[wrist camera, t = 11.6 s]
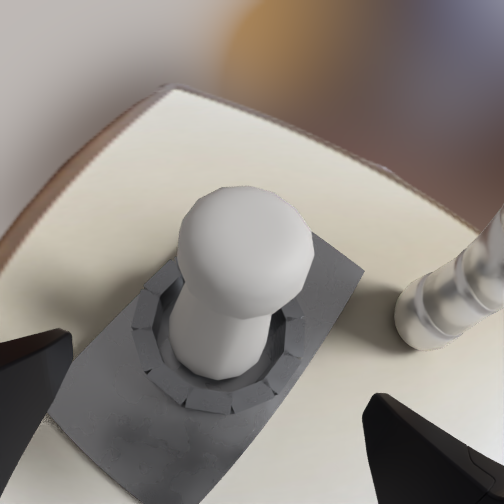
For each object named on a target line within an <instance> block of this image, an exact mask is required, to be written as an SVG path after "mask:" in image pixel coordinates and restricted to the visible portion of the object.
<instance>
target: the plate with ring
mask: <svg viewBox="0 0 504 504" xmlns="http://www.w3.org/2000/svg"><path fill="white" fill-rule="evenodd" d="M311 233H312V240H313V247H314V258H313V261H312V263H311V266H310V269H309V272H308V274H307V277H306V280H305V282H304V285H303V288H302V290H301V291H300V292H299V293H298V294H297V295H296V296H295V297H294V298H293V299H292V300H290V301H289V302H288V303H287V304H285V305H284V306H283V307H281V308H280V309H279V310H277V311H276V312H275V313H274V314H272V315H271V321H270V326H269V332H268V337H267V342H266V345H265V347H264V349H263V352H262V354H261V356H260V358H259V360H258V362H257V363H256V364H255V365H253V366H252V367H251V368H250V369H248V370H247V371H246V372H244V373H243V374H242V375H240V376H236V377H231V378H227V379H222V380H214V379H211V378H207V377H203V376H200V375H196V374H194V373H193V372H192V371H191V370H189V369H188V368H187V367H186V366H184V365H183V364H182V363H181V362H179V361H178V360H177V358H176V356H175V353H174V351H173V349H172V346H171V344H170V341H169V317H170V315H171V313H172V310H173V308H174V306H175V304H176V301H177V299H178V297H179V295H180V292H181V290H182V288H183V286H184V283H185V280H184V278H183V275H182V273H181V271H180V268H179V265H178V259H177V257H174V261H172V260H171V259H170V260H169V261H168V262H167V263H166V264H165V265H164V266H163V267H162V268H161V269H160V270H159V271H158V272H157V273H156V274H155V275H154V276H152V277H151V278H150V279H149V280H148V281H147V282H146V283H145V284H144V285H143V286H144V290H143V289H141V291H140V293H139V294H138V295H137V296H136V297H135V298H134V299H133V300H132V301H131V302H130V303H129V304H128V305H127V306H126V307H125V308H124V309H123V310H122V311H121V312H120V313H119V314H118V315H117V316H116V317H115V318H114V319H113V320H112V321H111V322H110V323H109V324H108V325H107V327H106V328H105V329H104V330H103V331H102V332H101V333H100V334H99V335H98V336H97V337H96V338H95V339H94V340H93V341H92V342H91V343H90V344H89V345H88V346H87V347H86V348H85V349H84V350H83V351H82V352H81V354H80V355H79V356H78V357H77V358H76V359H75V360H74V361H73V362H72V363H71V365H70V367H69V369H68V371H67V374H66V376H65V378H64V380H63V382H62V384H61V386H60V388H59V390H58V393H57V395H56V397H55V399H54V401H53V403H52V404H51V406H50V408H49V409H48V411H47V413H48V414H49V415H50V416H51V417H52V419H53V420H54V421H55V422H56V423H57V424H58V425H59V426H60V428H61V429H62V430H63V431H64V432H65V433H66V434H67V435H68V436H69V437H70V438H71V439H72V440H73V442H74V443H75V444H76V445H77V446H78V447H79V448H80V449H81V450H82V451H83V452H84V453H85V454H86V455H87V456H88V457H90V458H91V459H92V460H93V461H94V462H95V463H96V464H97V465H98V466H99V467H100V468H101V469H102V470H104V471H105V472H106V473H107V474H108V475H109V476H110V477H111V478H113V479H114V480H115V481H116V482H117V483H119V484H120V485H121V486H122V487H123V488H125V489H126V490H127V491H128V492H130V493H131V494H132V495H133V496H135V497H136V498H137V499H139V500H140V501H141V502H143V503H144V504H199V503H200V502H201V501H202V500H203V499H204V497H205V496H206V495H207V494H208V493H209V492H210V491H211V490H212V489H213V488H214V486H215V485H216V484H217V483H218V482H219V481H220V480H221V478H222V477H223V476H224V475H225V474H226V473H227V472H228V470H229V469H230V468H231V467H232V466H233V464H234V463H235V462H236V461H237V460H238V458H239V457H240V456H241V455H242V454H243V452H244V451H245V450H246V449H247V447H248V446H249V445H250V444H251V442H252V441H253V440H254V439H255V437H256V436H257V435H258V434H259V432H260V431H261V430H262V428H263V427H264V426H265V424H266V423H267V422H268V420H269V419H270V418H271V416H272V415H273V414H274V412H275V411H276V410H277V408H278V407H279V406H280V404H281V403H282V401H283V400H284V399H285V397H286V396H287V395H288V393H289V392H290V390H291V389H292V387H293V386H294V385H295V383H296V382H297V380H298V379H299V377H300V376H301V374H302V373H303V371H304V370H305V369H306V367H307V366H308V364H309V363H310V361H311V360H312V358H313V356H314V355H315V353H316V352H317V350H318V349H319V347H320V346H321V344H322V343H323V341H324V339H325V338H326V336H327V335H328V333H329V331H330V330H331V328H332V327H333V325H334V323H335V322H336V320H337V318H338V317H339V315H340V313H341V312H342V310H343V308H344V307H345V305H346V303H347V302H348V300H349V298H350V296H351V295H352V293H353V291H354V289H355V288H356V286H357V284H358V282H359V281H360V279H361V277H362V275H363V273H364V272H365V271H364V270H363V269H362V268H360V267H359V266H358V265H356V264H355V263H354V262H352V261H351V260H350V259H348V258H347V257H346V256H344V255H343V254H342V253H340V252H339V251H338V250H336V249H335V248H334V247H332V246H331V245H330V244H328V243H327V242H326V241H324V240H323V239H321V238H320V237H319V236H317V235H316V234H314V233H313V232H312V231H311Z"/></svg>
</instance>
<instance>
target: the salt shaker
mask: <svg viewBox="0 0 504 504" xmlns="http://www.w3.org/2000/svg"><path fill="white" fill-rule="evenodd" d="M313 258H314V247H313V240H312V233H311V229H310V228H309V226H308V225H307V223H306V222H305V220H304V219H303V218H302V216H301V215H300V213H299V212H298V210H297V209H296V208H295V207H294V206H292V205H291V204H289V203H288V202H287V201H285V200H284V199H282V198H281V197H280V196H278V195H277V194H275V193H274V192H270V191H267V190H263V189H259V188H256V187H252V186H237V187H222V188H219V189H217V190H215V191H213V192H211V193H210V194H208V195H206V196H204V197H202V198H200V199H198V200H197V202H196V203H195V204H194V206H193V207H192V208H191V209H190V211H189V212H188V213H187V215H186V216H185V217H184V219H183V221H182V224H181V227H180V231H179V241H178V252H177V259H178V265H179V268H180V271H181V273H182V275H183V278H184V280H185V283H184V286H183V288H182V290H181V292H180V295H179V297H178V299H177V301H176V304H175V306H174V308H173V310H172V313H171V315H170V317H169V341H170V344H171V346H172V349H173V351H174V353H175V356H176V358H177V360H178V361H179V362H181V363H182V364H183V365H184V366H186V367H187V368H188V369H189V370H191V371H192V372H193V373H194V374H196V375H200V376H203V377H207V378H211V379H214V380H222V379H227V378H231V377H236V376H240V375H242V374H243V373H244V372H246V371H247V370H248V369H250V368H251V367H252V366H253V365H255V364H256V363H257V362H258V360H259V358H260V356H261V354H262V352H263V349H264V347H265V345H266V342H267V337H268V332H269V326H270V321H271V315H272V314H274V313H275V312H276V311H277V310H279V309H280V308H281V307H283V306H284V305H285V304H287V303H288V302H289V301H290V300H292V299H293V298H294V297H295V296H296V295H297V294H298V293H299V292H300V291H301V290H302V288H303V285H304V282H305V280H306V277H307V274H308V272H309V269H310V266H311V263H312V261H313Z"/></svg>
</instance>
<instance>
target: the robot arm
mask: <svg viewBox="0 0 504 504" xmlns="http://www.w3.org/2000/svg"><path fill="white" fill-rule="evenodd" d="M72 360H73V346H72V335H71V333H70V332H69V331H66V330H63V329H60V328H57V329H53V330H49V331H45V332H42V333H38V334H34V335H30V336H26V337H22V338H18V339H14V340H10V341H6V342H2V343H0V497H1V495H2V493H3V491H4V489H5V487H6V485H7V483H8V481H9V479H10V477H11V475H12V473H13V471H14V469H15V467H16V466H17V464H18V462H19V460H20V458H21V456H22V454H23V453H24V451H25V449H26V447H27V445H28V444H29V442H30V440H31V438H32V437H33V435H34V433H35V431H36V430H37V428H38V426H39V424H40V423H41V421H42V419H43V418H44V416H45V414H46V413H47V411H48V409H49V408H50V406H51V404H52V403H53V401H54V399H55V397H56V395H57V393H58V390H59V388H60V386H61V384H62V382H63V380H64V378H65V376H66V374H67V371H68V369H69V367H70V365H71V363H72ZM362 423H363V429H364V436H365V443H366V451H367V457H368V462H369V466H370V470H371V475H372V479H373V483H374V487H375V491H376V496H377V500H378V504H504V466H503V465H501V464H499V463H497V462H495V461H493V460H492V459H490V458H488V457H486V456H484V455H482V454H481V453H479V452H477V451H476V450H474V449H472V448H471V447H469V446H467V445H466V444H464V443H463V442H461V441H459V440H458V439H456V438H455V437H453V436H451V435H450V434H448V433H447V432H445V431H444V430H442V429H440V428H439V427H437V426H436V425H434V424H433V423H431V422H429V421H428V420H426V419H425V418H423V417H422V416H420V415H419V414H417V413H416V412H414V411H413V410H411V409H410V408H408V407H407V406H405V405H404V404H402V403H401V402H399V401H398V400H396V399H395V398H393V397H392V396H390V395H389V394H386V393H375V394H374V395H373V396H372V397H371V399H370V401H369V403H368V405H367V407H366V408H365V410H364V412H363V415H362Z"/></svg>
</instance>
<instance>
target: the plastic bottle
mask: <svg viewBox="0 0 504 504" xmlns="http://www.w3.org/2000/svg"><path fill="white" fill-rule="evenodd" d="M503 308H504V204H503V206H502V208H501V209H500V210H499V211H498V213H497V214H496V215H495V217H494V218H493V219H492V220H491V222H490V223H489V224H488V225H487V227H486V228H485V229H484V230H483V232H482V233H481V234H480V235H479V236H478V237H477V238H476V239H475V240H474V241H473V242H472V243H471V244H470V245H469V246H468V247H467V248H466V249H465V250H463V251H462V252H461V253H460V254H459V255H458V256H457V257H456V258H454V259H453V260H451V261H450V262H448V263H446V264H445V265H443V266H442V267H440V268H439V269H437V270H436V271H434V272H431V273H428V274H426V275H424V276H422V277H420V278H418V279H417V280H415V281H413V282H411V283H410V284H409V285H408V286H407V287H406V289H405V290H404V291H403V292H402V293H401V294H400V296H399V298H398V299H397V302H396V306H395V313H394V320H395V325H396V328H397V331H398V333H399V335H400V337H401V338H402V339H403V340H404V341H405V342H406V343H407V344H408V345H410V346H411V347H413V348H415V349H417V350H420V351H431V350H436V349H441V348H443V347H445V346H447V345H448V344H450V343H451V342H453V341H454V340H456V339H457V338H458V337H459V336H461V335H462V334H463V333H464V332H465V331H467V330H468V329H470V328H471V327H473V326H474V325H476V324H477V323H479V322H480V321H482V320H483V319H485V318H486V317H488V316H489V315H492V314H494V313H496V312H497V311H499V310H501V309H503Z"/></svg>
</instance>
